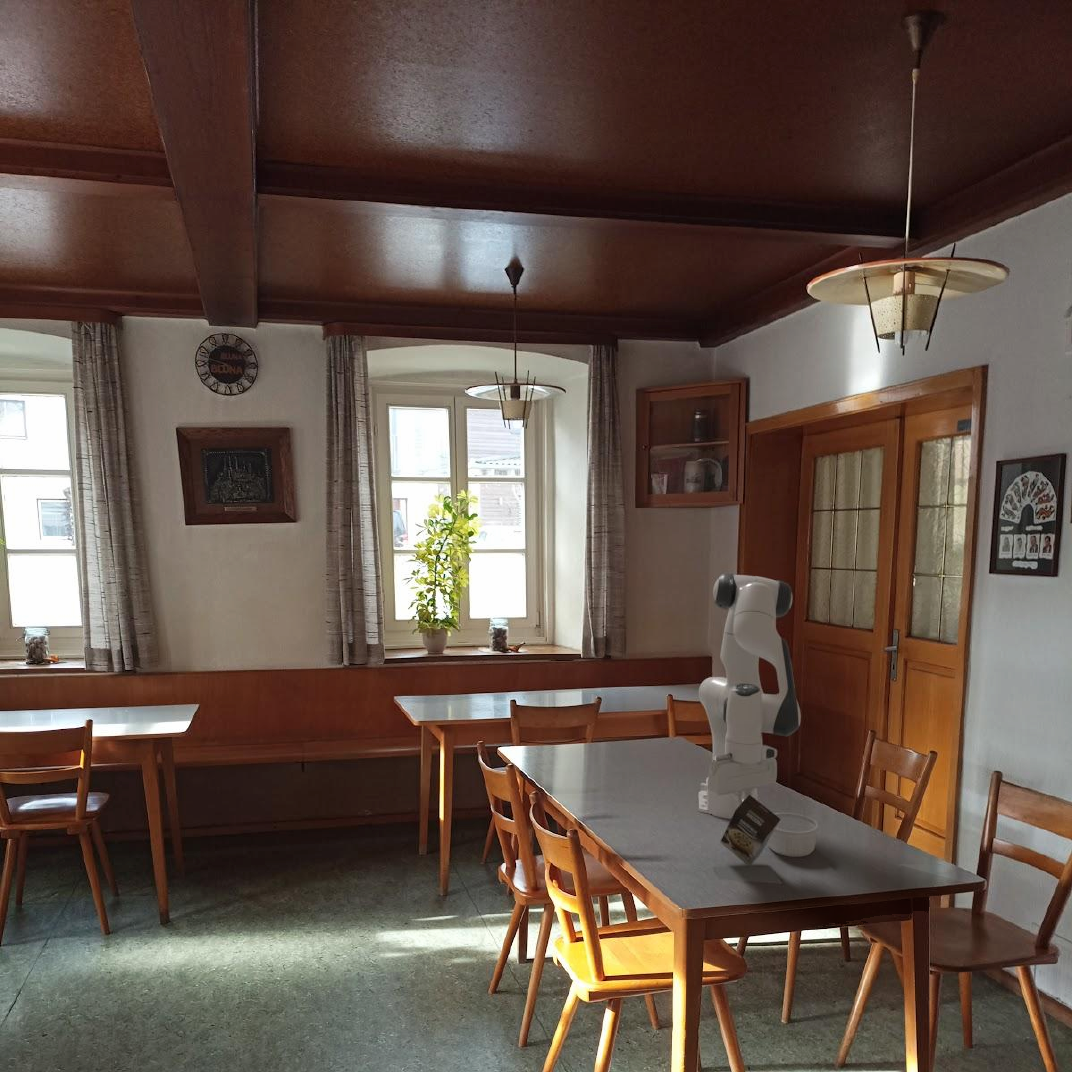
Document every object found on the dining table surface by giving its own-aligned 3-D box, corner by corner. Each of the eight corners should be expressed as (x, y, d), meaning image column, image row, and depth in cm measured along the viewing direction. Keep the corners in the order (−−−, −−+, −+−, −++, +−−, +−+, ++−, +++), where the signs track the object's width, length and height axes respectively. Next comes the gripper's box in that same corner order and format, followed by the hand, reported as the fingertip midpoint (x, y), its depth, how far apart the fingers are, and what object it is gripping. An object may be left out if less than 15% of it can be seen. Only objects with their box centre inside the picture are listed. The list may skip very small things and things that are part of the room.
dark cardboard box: (718, 842, 212) (733, 809, 201) (733, 825, 216) (749, 792, 205) (749, 868, 208) (766, 836, 197) (763, 850, 212) (781, 818, 200)
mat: (713, 868, 207) (713, 866, 207) (770, 868, 207) (770, 866, 207) (723, 888, 197) (723, 886, 197) (783, 887, 197) (783, 885, 197)
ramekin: (753, 848, 219) (754, 821, 219) (780, 833, 228) (780, 808, 228) (801, 864, 210) (802, 836, 209) (827, 848, 219) (827, 821, 218)
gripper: (721, 760, 202) (719, 818, 202) (782, 749, 212) (780, 804, 213) (702, 753, 207) (701, 810, 207) (763, 743, 218) (761, 797, 218)
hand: (741, 807), depth 210 cm, fingers closed
